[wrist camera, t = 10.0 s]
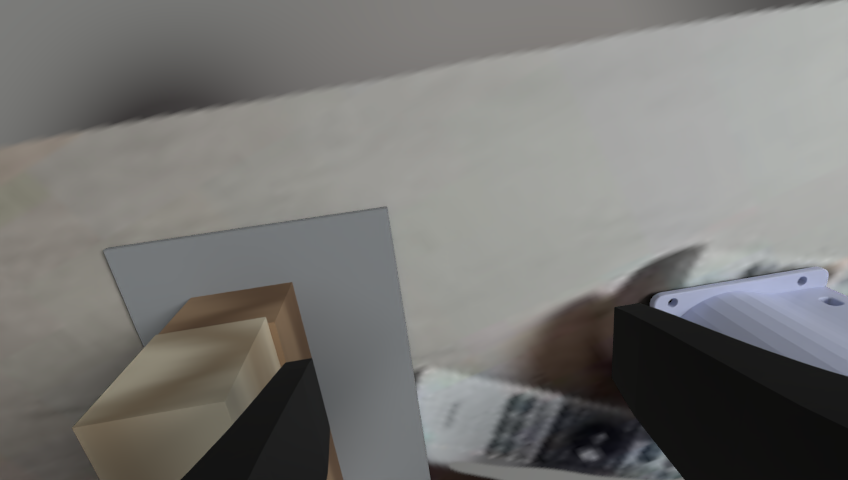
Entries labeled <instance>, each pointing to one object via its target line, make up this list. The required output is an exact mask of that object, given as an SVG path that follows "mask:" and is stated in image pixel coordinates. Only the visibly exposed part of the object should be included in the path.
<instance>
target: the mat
mask: <svg viewBox="0 0 848 480" xmlns="http://www.w3.org/2000/svg"><path fill="white" fill-rule="evenodd" d="M103 252H104V254H105V256H106V259H107V261H108V264H109V266H110V268H111V271H112V273H113V275H114V278H115V280H116V283H117V285H118V287H119V290H120V292H121V294H122V297H123V299H124V302H125V304H126V306H127V309H128V311H129V313H130V316H131V318H132V321H133V323H134V325H135V328H136V330H137V332H138V335H139V337H140V339H141V342H142V344H143V347H145V346H146V345H147V344H148V343H149V342H150V341H151V340H152V338H153V337H154V336H155V335H158V334H159V333H160V332H161V331H162V330H163V328H164V327H165V326H166V325H167V324H168V323H169V322H170V321H171V319H172V318H173V317H174V316H175V315H176V314H177V313H178V312H179V310H180V309H181V308H182V307H183V306H184V305H185V304H186V303H187V301H188V300H189V299H190V298H193V297H199V296H206V295H212V294H219V293H225V292H231V291H238V290H244V289H250V288H257V287H263V286H270V285H276V284H282V283H289V282H292V283H293V287H294V291H295V295H296V299H297V302H298V306H299V310H300V314H301V318H302V322H303V326H304V330H305V333H306V337H307V341H308V345H309V349H310V353H311V357H312V359H313V363H314V367H315V371H316V375H317V379H318V382H319V386H320V390H321V394H322V398H323V402H324V406H325V410H326V413H327V417H328V421H329V425H330V430H331V434H332V438H333V442H334V446H335V449H336V453H337V457H338V461H339V465H340V469H341V473H342V476H343V480H431V479H430V473H429V466H428V460H427V454H426V448H425V441H424V435H423V429H422V423H421V416H420V410H419V404H418V398H417V391H416V385H415V379H414V372H413V366H412V360H411V354H410V347H409V341H408V335H407V329H406V322H405V316H404V310H403V304H402V297H401V291H400V285H399V278H398V272H397V266H396V260H395V253H394V247H393V241H392V235H391V228H390V222H389V216H388V209H387V207H380V208H373V209H367V210H360V211H353V212H346V213H340V214H333V215H326V216H319V217H313V218H306V219H299V220H292V221H286V222H279V223H272V224H265V225H259V226H252V227H245V228H238V229H232V230H225V231H218V232H211V233H205V234H198V235H191V236H184V237H178V238H171V239H164V240H157V241H151V242H144V243H137V244H130V245H124V246H117V247H110V248H106V249H105V250H103Z"/></svg>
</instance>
